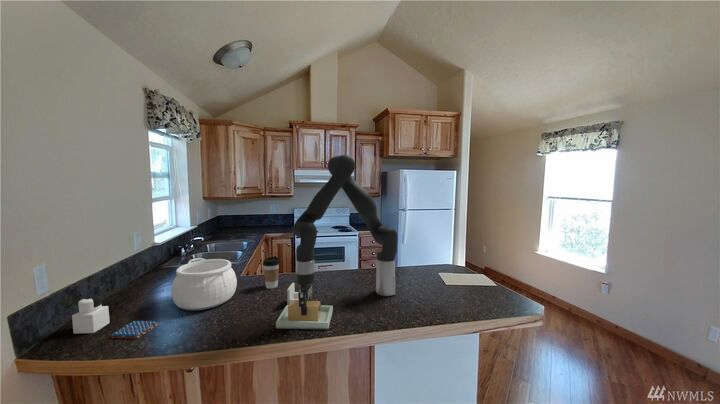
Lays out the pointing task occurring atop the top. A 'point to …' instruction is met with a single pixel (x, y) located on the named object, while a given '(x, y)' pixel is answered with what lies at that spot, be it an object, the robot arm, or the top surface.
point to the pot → (203, 284)
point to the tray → (320, 324)
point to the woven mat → (134, 329)
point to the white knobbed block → (90, 315)
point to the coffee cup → (271, 272)
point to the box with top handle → (312, 311)
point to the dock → (292, 294)
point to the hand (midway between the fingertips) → (306, 310)
